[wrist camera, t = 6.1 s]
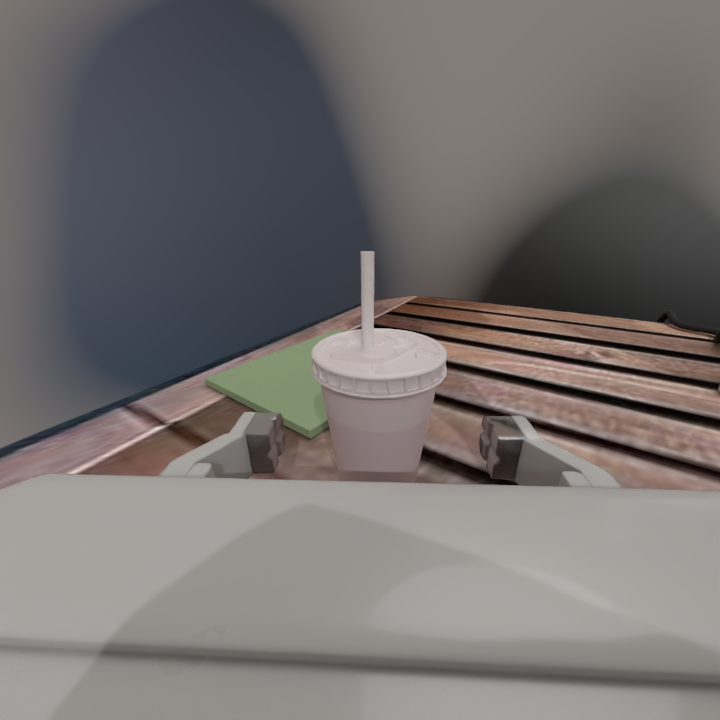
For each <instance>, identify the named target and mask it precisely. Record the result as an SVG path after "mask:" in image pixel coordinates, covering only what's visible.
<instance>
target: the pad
mask: <svg viewBox="0 0 720 720" xmlns="http://www.w3.org/2000/svg"><path fill="white" fill-rule="evenodd" d="M341 332H346V331H343V330H339V329H336V330H334V331H331V332H328V333H325V334H323V335H320V336H317V337H315V338H312V339H309V340H307V341H304V342H301V343H299V344H296V345H293V346H290V347H288V348H285V349H282V350H280V351H277V352H274V353H272V354H269V355H266V356H263V357H261V358H258V359H255V360H253V361H250V362H247V363H245V364H242V365H239V366H237V367H234V368H231V369H228V370H226V371H223V372H220V373H218V374H215V375H212V376H210V377H207V378H205V381H206V385H207V386H209V387H211V388H213V389H215V390H217V391H219V392H221V393H223V394H225V395H227V396H229V397H231V398H233V399H234V400H236V401H238V402H240V403H242V404H244V405H246V406H248V407H250V408H252V409H254V410H256V411H258V412H268V413H281V414H282V417H283V425H285V426H287V427H289V428H291V429H292V430H294V431H296V432H298V433H300V434H302V435H304V436H306V437H308V438H310V439H311V438H313V437H314V436H316V435H317V434H319V433H320V432H322V431H323V430H325V429H326V428H328V427H329V424H328V419H327V414H326V409H325V406H324V400H323V394H322V389H321V384H320V383H319V382H318V381H317V380H316V379H314V377H313V374H312V371H311V368H312V355H311V352H312V349H313V347H314V346H315V345H316V344H317V343H318V342H320V341H321V340H323V339H325V338H326V337H329V336H331V335H334V334H337V333H341Z"/></svg>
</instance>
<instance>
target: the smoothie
mask: <svg viewBox="0 0 720 720" xmlns="http://www.w3.org/2000/svg"><path fill="white" fill-rule="evenodd" d="M361 321H362V329H359V330H351V331H346V332H341V333H337V334H334V335H331V336H329V337H326V338H325V339H323V340H321V341H320V342H318V343H317V344H316V345H315V346H314V347H313V349H312V352H311V355H312V368H311V371H312V374H313V377H314V379H316V380H317V381H318V382H319V383H320V384H321V389H322V394H323V400H324V406H325V409H326V414H327V419H328V424H329V429H330V434H331V439H332V444H333V449H334V454H335V459H336V464H337V469H338V474H339V479H340V481H358V482H398V483H415V478H416V474H417V470H418V465H419V461H420V457H421V452H422V448H423V443H424V439H425V435H426V430H427V426H428V422H429V417H430V413H431V410H432V405H433V400H434V395H435V391H436V386H437V385H439V384H441V382H442V381H443V380H444V378H445V377H446V371H447V367H446V358H447V352H446V350H445V348H444V347H443V346H442V345H441V344H440V343H439V342H437V341H435V340H434V339H432V338H430V337H427V336H425V335H422V334H418V333H414V332H410V331H404V330H397V329H380V328H374V252H373V251H363V252H361Z"/></svg>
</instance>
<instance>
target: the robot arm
mask: <svg viewBox="0 0 720 720" xmlns="http://www.w3.org/2000/svg"><path fill="white" fill-rule="evenodd" d="M667 318H668V319H669V321H670V322H671V323H672V324H673V325H674V326H676V327H678V328H681V329H685V330H691V331H696V332H703V333H708V334H713V335H716V336H715V338H714V341H715V342H718V343H720V329H718V328H713V327H708V326H702V325H694V324H689V323H685V322H682V321H680V320H678V319H677V317H676V315H675V313H674V312H673V311H667V312H665V313H663V314H662V315H661V316H660V318H659V319H658V320H657V322H656V323H664V321H665V320H666V319H667ZM718 391H719V392H720V384H719V387H718ZM282 424H283V417H282V414H281V413H268V412H244V413H243V414H242V415H241V417H240V418H239V420H238V421H237V423H236V424H235V425H234V427H233V428H232V430H231V431H230V433H229V434H224V435H222V436H220V437H218V438H216V439H214V440H212V441H210V442H208V443H206V444H204V445H202V446H200V447H198V448H196V449H194V450H192V451H190V452H188V453H186V454H184V455H182V456H180V457H178V458H176V459H175V460H173V461H171V462H170V463H169V464H168V465H167V467H166V468H165V469H164V470H163V471H162V472H161V474H160V475H159V476H121V475H82V474H60V473H52V474H44V475H40V476H36V477H33V478H30V479H27V480H24V481H21V482H18V483H16V484H13V485H11V486H8V487H5V488H3V489H0V720H720V491H715V490H675V489H635V488H623V487H622V486H621V485H620V484H619V483H618V482H617V481H616V480H615V479H614V477H613V476H612V475H611V474H610V473H609V472H608V471H606V470H604V469H602V468H600V467H598V466H596V465H594V464H592V463H591V462H589V461H587V460H585V459H583V458H581V457H579V456H577V455H575V454H573V453H571V452H569V451H567V450H565V449H563V448H561V447H559V446H557V445H555V444H554V443H552V442H550V441H548V440H542V439H541V438H540V436H539V435H538V434H537V432H536V431H535V430H534V428H533V427H532V426H531V424H530V423H529V422H528V420H527V419H526V418H525V417H524V416H484V417H483V420H482V427H483V429H484V432H483V433H482V434H481V435H480V441H479V445H480V452H481V456H482V458H483V459H484V460H486V461H487V464H486V467H487V469H488V472H489V474H490V476H491V478H492V479H510V480H515V481H516V482H517V483H518V484H519V485H520V486H518V485H478V484H438V483H398V482H358V481H318V480H278V479H248V478H249V477H250V476H251V475H253V474H252V473H274V472H275V470H276V467H277V465H278V463H279V459H278V457H279V456H280V455H282V453H283V450H284V445H285V432H284V430H283V429H282V428H281V426H282Z"/></svg>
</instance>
